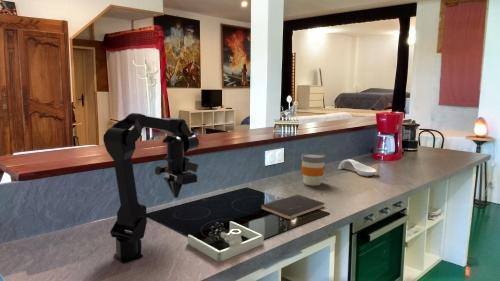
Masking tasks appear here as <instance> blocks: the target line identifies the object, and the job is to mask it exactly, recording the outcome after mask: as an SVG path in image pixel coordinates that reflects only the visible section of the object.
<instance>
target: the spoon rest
mask: <svg viewBox="0 0 500 281" xmlns="http://www.w3.org/2000/svg"><path fill="white" fill-rule="evenodd" d="M347 162H348V163H350V164H352V166H353V168H354V170H355V171H356V173H357V174H358V175H359V176H362V177H370V176H371V177H372V176H373V175H375V174H377V169H375V168H373V167H371V166H368V165H366V164H364V163H361V162H359V161H357V160H354V159H350V158H349V159H344V160H342V161H341V162H340V163H339V165H338V170H345V169H344V168H345V164H346V163H347Z"/></svg>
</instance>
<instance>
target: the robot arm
mask: <svg viewBox="0 0 500 281" xmlns="http://www.w3.org/2000/svg"><path fill="white" fill-rule="evenodd" d="M144 128H145V129H146V128H148V129H152V130H158V131H160V132H161V133H164V134H165V135H166V136H165V138H164V139H162V144H163V143H164V144H166V156H164V161H166V164H162V165H157V166H156V167H155V169H154V174H155V175H157V176H160V175H161V174H163V173H164V174H165V177H163V180H164V181H165V183H166V184H167V187H168V189H169V190H170V192H171V195H172V196H173V198H174V199H177V198H179V196H180V192H181V189H182V186H183V185H188V184H189V185H190V184H194V183H198V179H199V176H198V175H197V174H196V173H197V171H198V167H199V165H200V164H199V163H196V162H193V161H190V158H188V157H186V156H185V155H184V154H185V153H187V152H190V151H194V150H196V149H197V148H198V147H199V145H200V141H199V138H198V137H197V135H195V131H191V130H190V128H189V126H188V124H187V122H186V120H185V119H184V118H177V117H176V118H175V117H173V118H172V117H163V118H161V117H156V116H152V115H151V116H150V115H146V114H144V113H140V112H139V113H137V112H136V113H135V112H131V113H129V114H128V115H127V116H126V117H125V118H123V119H121V120H120V121H118V122H116V123H114V124H112V126H111V127H109V128H108V129H107V130H106V131H105V132H104V134H103V138H102V139H103V143H104V144H103V145H104V147H105V150H106V152H107V153H108V155H109V156H110V157H111V158H112V160H113V165H114V171H115V176H116V184H117V190H118V196H119V197H118V198H119V202H120V204H119V205H120V206H119V208H118V210H117V212H116V221H115V222H114V224H113V226H112V227H111V229H110V232H109V234H110V237H111V238H115V251H116V252H115V253H114V254H113V256H114V257H115V258H116V259H117V260H118V261H119V262H121V263H122V264H125V263H129V262H132V261H135V260H138V259H141V258H143V257H144V255H143V253H142V250H143V249H142V248H143V247H142V239H143V238H144V237H145V233H146V228H147V223H148V218H149V216H148V214H147V212H148V211H147V206H146V204H145V205H144V204H140V203H139V201H138V194H137V193H138V192H137V187H136V179H135V173H134V166H133V158H132V157H133V155H134V152H135V151H136V142H137V140H139V139H140V138H141V136H142V134H143V129H144ZM191 171H192V172H191Z"/></svg>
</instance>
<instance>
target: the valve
mask: <svg viewBox="0 0 500 281" xmlns="http://www.w3.org/2000/svg"><path fill="white" fill-rule="evenodd" d="M214 223H215V224H214V226H213V225H210V229H211V231H209V232H208V236H210V241H212V242H214V241H215V242H219V241H220V240H221V238H222V239H224V242H225V243H227V244H228V245H229V247H231V246H234V245H237V244H240V243H242V242H243V239H242V235H241V231H240V230H238V229H233V230H229V232H228V233H226V231H227V229H226V228H225V227H224V226H225V225H224V223H222V222H221V223H219V222H218V221H216V222H214ZM218 228H219V229H218ZM215 235H216V236H215ZM229 247H228V248H229Z"/></svg>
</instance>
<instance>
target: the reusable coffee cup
mask: <svg viewBox="0 0 500 281" xmlns="http://www.w3.org/2000/svg"><path fill="white" fill-rule="evenodd" d="M300 161H301V167H300V168H301V174H302V179H303V184H305V185H307V186H320V185H321V184H322V179H323V175H324V171H325V167H326V166H325V164H326V163H325V162H326V154H322V153H317V152H306V153H305V152H304V153H302V154H301V160H300Z"/></svg>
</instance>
